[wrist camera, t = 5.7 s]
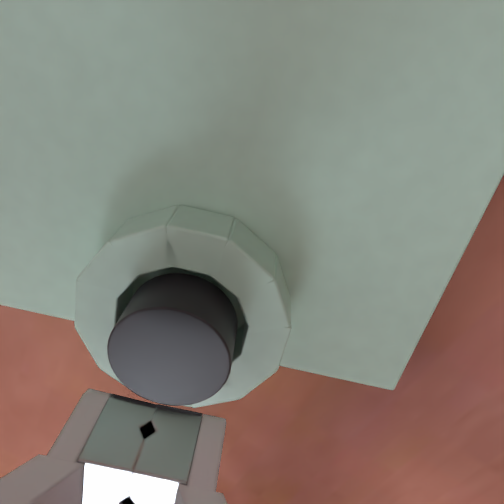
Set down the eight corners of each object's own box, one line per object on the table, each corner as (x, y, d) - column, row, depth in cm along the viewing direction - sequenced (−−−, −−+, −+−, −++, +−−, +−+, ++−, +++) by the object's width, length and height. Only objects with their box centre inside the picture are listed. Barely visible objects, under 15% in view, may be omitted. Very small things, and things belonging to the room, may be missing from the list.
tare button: (124, 350, 13) (102, 392, 11) (134, 260, 11) (110, 294, 10) (226, 372, 13) (218, 417, 11) (248, 286, 11) (243, 324, 10)
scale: (-10, 300, 15) (-72, 353, 13) (-58, -346, 8) (-218, -531, 6) (375, 384, 16) (394, 452, 13) (632, -153, 9) (782, -239, 6)
